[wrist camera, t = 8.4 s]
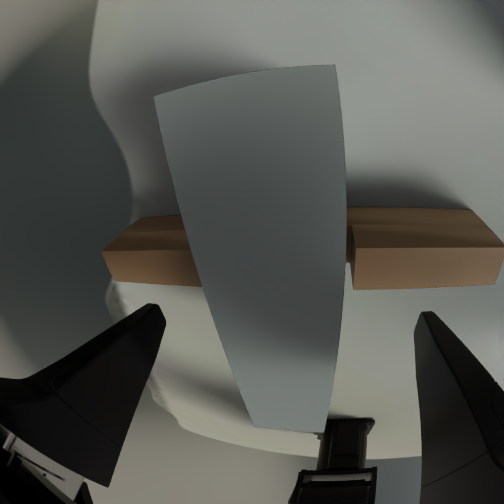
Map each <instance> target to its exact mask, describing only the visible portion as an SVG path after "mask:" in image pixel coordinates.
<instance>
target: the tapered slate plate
mask: <svg viewBox="0 0 504 504" xmlns="http://www.w3.org/2000/svg"><path fill="white" fill-rule="evenodd" d="M154 102H155V107H156V112H157V117H158V122H159V126H160V131H161V136H162V140H163V144H164V149H165V153H166V158H167V162H168V166H169V170H170V174H171V178H172V182H173V186H174V190H175V194H176V198H177V202H178V205H179V209H180V213H181V216H182V220H183V224H184V227H185V231H186V234H187V238H188V241H189V245H190V248H191V251H192V255H193V258H194V261H195V265H196V268H197V271H198V274H199V277H200V281H201V284H202V287H203V290H204V293H205V296H206V299H207V302H208V305H209V308H210V311H211V314H212V317H213V320H214V323H215V326H216V329H217V332H218V334H219V337H220V340H221V343H222V346H223V348H224V351H225V354H226V357H227V359H228V362H229V365H230V367H231V370H232V373H233V375H234V378H235V380H236V383H237V385H238V388H239V391H240V393H241V396H242V398H243V401H244V403H245V405H246V408H247V410H248V413H249V415H250V418H251V420H252V422H253V425H254V427H260V428H268V429H277V430H288V431H301V432H323V433H324V430H325V425H326V420H327V415H328V410H329V405H330V399H331V394H332V388H333V382H334V375H335V369H336V362H337V354H338V347H339V338H340V329H341V319H342V309H343V296H344V282H345V263H346V228H347V202H346V167H345V149H344V135H343V123H342V112H341V103H340V95H339V87H338V79H337V72H336V66H335V65H310V66H296V67H286V68H277V69H269V70H262V71H255V72H249V73H243V74H238V75H232V76H227V77H223V78H218V79H214V80H209V81H205V82H201V83H197V84H193V85H190V86H186V87H182V88H179V89H176V90H172V91H169V92H166V93H163V94H160V95H157V96H154Z"/></svg>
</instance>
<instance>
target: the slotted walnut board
mask: <svg viewBox="0 0 504 504" xmlns="http://www.w3.org/2000/svg"><path fill="white" fill-rule="evenodd" d="M101 252H102V254H103V257H104V259H105V261H106V263H107V266H108V268H109V270H110V272H111V274H112V277H113V279H114V281H121V282H134V283H147V284H163V285H179V286H198V287H202V284H201V281H200V277H199V274H198V271H197V268H196V265H195V261H194V258H193V255H192V251H191V248H190V245H189V241H188V238H187V234H186V231H185V227H184V224H183V220H182V216H181V215H172V216H160V217H149V218H139V219H138V220H137V221H135V222H134V223H133V224H132V225H131V226H129V227H128V228H127V229H126V230H125V231H124V232H123V233H121V234H120V235H119V236H118V237H117V238H115V239H114V240H113V241H112V242H111V243H110V244H109V245H107V246H106V247H105V248H104V249H103V250H102V251H101ZM503 259H504V244H503V242H502V241H501V240H500V239H499V238H498V237H497V236H496V235H495V233H494V232H493V231H492V230H491V229H490V228H489V227H488V226H487V225H486V224H485V223H484V222H483V221H482V220H481V219H480V218H479V217H478V216H477V215H476V214H475V213H474V212H473V211H472V210H463V209H440V208H404V207H347V228H346V263H350V266H351V275H352V284H353V290H372V289H413V288H438V287H458V286H474V285H489V284H495V281H496V279H497V276H498V273H499V271H500V268H501V265H502V262H503Z"/></svg>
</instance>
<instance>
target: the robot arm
mask: <svg viewBox="0 0 504 504" xmlns="http://www.w3.org/2000/svg"><path fill="white" fill-rule="evenodd" d="M165 327H166V319H165V317H164V315H163V313H162V311H161V309H160V307H159V305H157V304H152V303H148V304H146V305H144V306H143V307H141V308H140V309H138V310H136V311H135V312H133V313H132V314H130V315H129V316H127V317H125V318H124V319H122V320H121V321H119V322H118V323H116V324H115V325H113V326H111V327H110V328H108V329H107V330H105V331H104V332H102V333H101V334H99V335H97V336H96V337H94V338H93V339H91V340H90V341H88V342H87V343H85V344H83V345H82V346H81V347H79V348H77V349H76V350H74V351H73V352H71V353H70V354H68V355H66V356H65V357H63V358H62V359H60V360H58V361H57V362H55V363H53V364H51V365H50V366H48V367H46V368H44V369H42V370H41V371H39V372H37V373H35V374H33V375H31V376H29V377H27V378H24V379H9V378H1V377H0V504H93V501H92V499H91V496H90V492H89V490H88V486H87V483H86V482H84V479H85V478H87V479H89V480H91V481H93V482H96V483H98V484H100V485H103V486H105V487H107V488H108V487H109V485H110V482H111V479H112V476H113V473H114V470H115V467H116V464H117V461H118V458H119V455H120V452H121V449H122V446H123V443H124V440H125V437H126V434H127V432H128V429H129V427H130V423H131V421H132V418H133V416H134V413H135V410H136V408H137V405H138V403H139V400H140V397H141V394H142V392H143V390H144V387H145V385H146V382H147V380H148V377H149V375H150V372H151V370H152V367H153V365H154V362H155V360H156V357H157V353H158V350H159V347H160V343H161V340H162V337H163V334H164V330H165ZM414 345H415V363H416V381H417V389H418V398H419V408H420V421H421V440H422V477H421V495H420V504H504V391H503V390H502V388H501V387H500V386H499V385H498V383H497V382H496V381H495V380H494V379H493V377H492V376H491V375H490V374H489V372H488V371H487V370H486V369H485V368H484V366H483V365H482V364H481V363H480V362H479V361H478V359H477V358H476V357H475V356H474V355H473V354H472V353H471V351H470V350H469V349H468V348H467V347H466V346H465V345H464V344H463V342H462V341H461V340H460V339H459V338H458V337H457V336H456V335H455V334H454V333H453V332H452V331H451V330H450V329H449V327H448V326H447V325H446V324H445V323H444V322H443V321H442V320H441V319H440V318H439V317H438V316H437V315H436V314H435V313H434V312H432V311H426V312H421V313H420V315H419V318H418V321H417V324H416V327H415V330H414ZM374 424H375V420H326V425H325V430H324V433H323V432H318V438H317V439H319V440H321V442H320V449H319V455H318V462H317V468H316V470H315V471H313V470H302V471H301V472H299V474H298V479H297V483H296V486H295V488H294V490H293V493H292V495H291V497H290V499H289V501H288V504H374V503H375V494H376V480H377V467H372V468H365V463H366V449H367V435H368V434H369V432H370V431H371V429H372V427H373V426H374ZM367 478H370V481H365V479H367ZM355 479H362V480H355ZM333 480H347V481H333Z"/></svg>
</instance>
